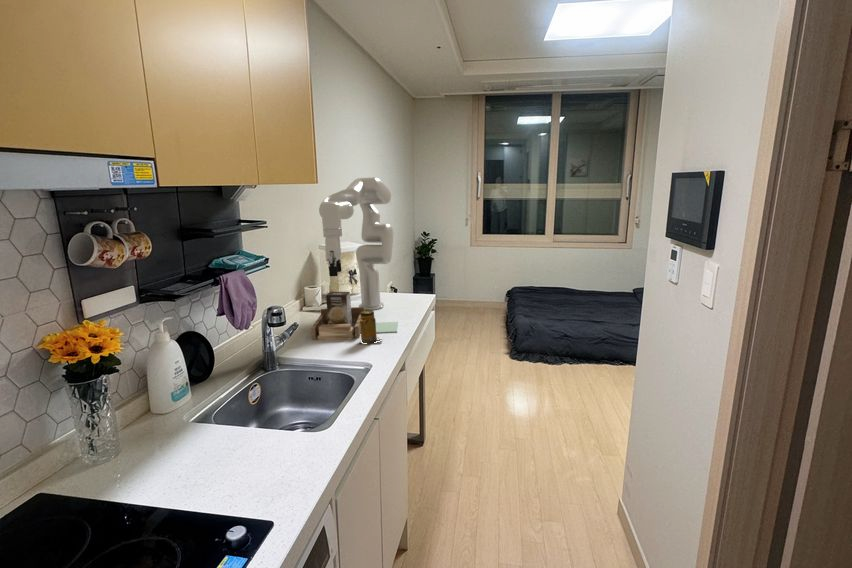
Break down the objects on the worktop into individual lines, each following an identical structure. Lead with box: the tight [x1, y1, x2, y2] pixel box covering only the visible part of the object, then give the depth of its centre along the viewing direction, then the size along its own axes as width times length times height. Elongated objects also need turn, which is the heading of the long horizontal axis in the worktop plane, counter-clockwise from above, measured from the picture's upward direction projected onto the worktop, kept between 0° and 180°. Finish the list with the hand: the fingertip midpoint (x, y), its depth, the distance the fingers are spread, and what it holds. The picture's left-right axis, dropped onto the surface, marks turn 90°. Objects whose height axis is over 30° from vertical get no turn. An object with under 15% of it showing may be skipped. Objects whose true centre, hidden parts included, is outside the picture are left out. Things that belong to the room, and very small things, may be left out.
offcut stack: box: [317, 324, 355, 341], centre depth 179 cm, size 4×14×5 cm, turn 91°
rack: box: [310, 306, 365, 341], centre depth 187 cm, size 22×19×7 cm
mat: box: [376, 321, 399, 334], centre depth 189 cm, size 13×13×1 cm
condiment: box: [360, 310, 383, 345], centre depth 172 cm, size 7×8×12 cm
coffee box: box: [325, 291, 353, 327], centre depth 188 cm, size 9×6×16 cm
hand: (335, 274), depth 184 cm, fingers open, 9 cm apart
